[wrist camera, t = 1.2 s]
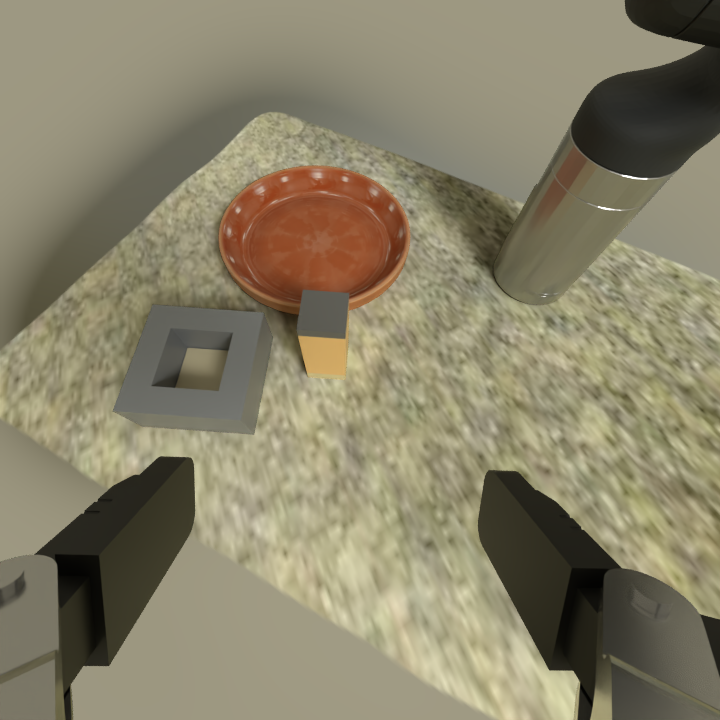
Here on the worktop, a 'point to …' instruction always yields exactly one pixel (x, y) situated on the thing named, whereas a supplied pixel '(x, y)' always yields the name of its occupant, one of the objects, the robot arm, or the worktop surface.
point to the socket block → (197, 370)
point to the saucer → (314, 236)
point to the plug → (324, 333)
